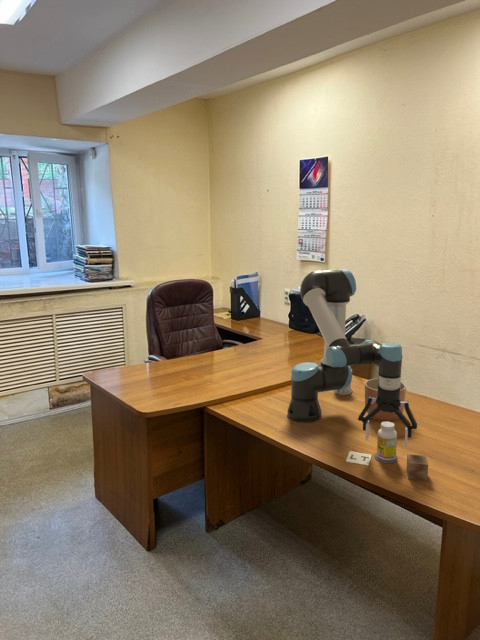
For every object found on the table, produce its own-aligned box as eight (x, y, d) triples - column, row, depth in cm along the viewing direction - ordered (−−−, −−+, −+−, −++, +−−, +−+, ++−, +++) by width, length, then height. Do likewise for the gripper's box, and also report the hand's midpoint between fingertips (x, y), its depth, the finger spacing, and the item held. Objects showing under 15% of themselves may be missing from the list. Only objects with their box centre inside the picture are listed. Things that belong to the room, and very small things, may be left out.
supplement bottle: (374, 452, 173) (375, 420, 170) (391, 451, 173) (392, 419, 171) (381, 462, 166) (382, 428, 164) (399, 460, 167) (400, 427, 164)
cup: (333, 387, 241) (333, 365, 239) (351, 388, 240) (351, 365, 238) (334, 395, 231) (334, 372, 229) (352, 395, 230) (353, 372, 228)
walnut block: (408, 479, 156) (409, 463, 155) (406, 470, 162) (407, 454, 161) (427, 481, 155) (428, 464, 153) (424, 471, 160) (425, 455, 159)
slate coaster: (373, 460, 168) (373, 459, 168) (376, 450, 175) (376, 449, 175) (396, 465, 165) (396, 464, 165) (398, 454, 172) (398, 453, 172)
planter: (362, 408, 214) (363, 377, 211) (401, 410, 211) (403, 378, 207) (364, 424, 198) (365, 390, 195) (406, 427, 194) (408, 392, 191)
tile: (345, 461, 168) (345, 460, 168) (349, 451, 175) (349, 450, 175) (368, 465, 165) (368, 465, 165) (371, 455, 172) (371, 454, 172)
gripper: (351, 385, 166) (349, 440, 171) (426, 395, 156) (422, 452, 161) (355, 379, 173) (353, 431, 177) (427, 387, 163) (423, 443, 168)
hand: (386, 442), depth 169 cm, fingers open, 13 cm apart
